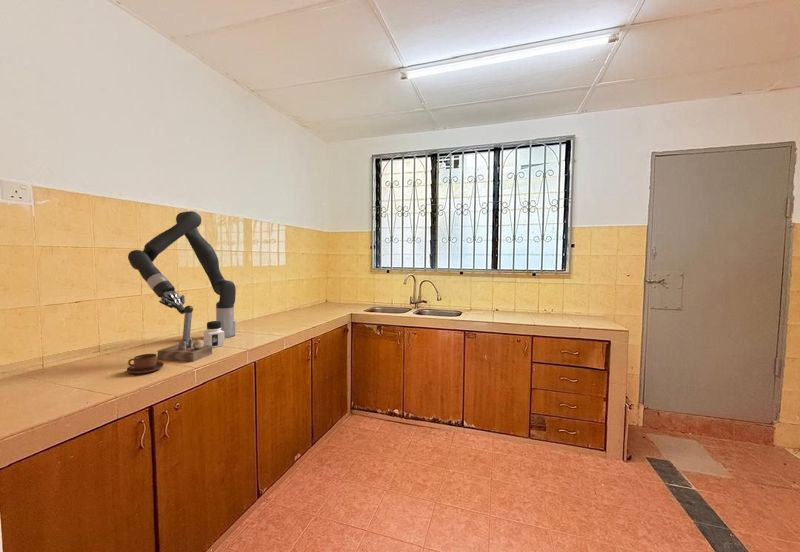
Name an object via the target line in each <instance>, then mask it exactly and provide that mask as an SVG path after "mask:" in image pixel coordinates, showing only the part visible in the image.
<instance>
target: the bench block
mask: <svg viewBox="0 0 800 552" xmlns="http://www.w3.org/2000/svg"><path fill="white" fill-rule="evenodd" d="M189 343H190V346H189V347H187V348H186V341H182V340H178V343H176V344H174V345H170V346H167V347H165V348H161V349H158V350H157V360H166V361H167V360H168V361H177V362H178V361H180V362H192V363H193V362H196V361H199V360H201V359H203V358H206V357H208V356H210V355H211V356H212V354H213V348H212V346H207V345H204V340H202V339H200V338H199V339H195V340H194V341H193V339H192V338H190V341H189Z"/></svg>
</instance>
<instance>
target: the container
mask: <svg viewBox="0 0 800 552" xmlns="http://www.w3.org/2000/svg"><path fill="white" fill-rule="evenodd" d="M220 329H221V322H220V321H216V320H210V321H208V322H206V330H203V343H204V345H207V346H212V349H213V348H216V347H217V348H218V347H224V346H225V338H224V331H222V330H220Z"/></svg>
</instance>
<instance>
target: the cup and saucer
mask: <svg viewBox="0 0 800 552" xmlns="http://www.w3.org/2000/svg"><path fill="white" fill-rule="evenodd" d="M131 361H133V364H132V363H131ZM127 364H128V367H127V368H126V372H128V373H130V374H138V375H139V374H148V373H152V372H155V371H158V370H160V369H162V368H163V367H164V363H163V362H162V361H158V354H156V353H144V354H139V355H135V356H134V357H133V358H130V359H128V362H127Z"/></svg>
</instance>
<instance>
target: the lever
mask: <svg viewBox="0 0 800 552" xmlns="http://www.w3.org/2000/svg"><path fill="white" fill-rule="evenodd" d="M184 311H185V313H184V317H183V319H184V321H183V327H182V329H183V331H182V340H181V341H186V348H187V347H189V346H190V343H189V341H190V339H191V330H192V329H191V327H192V316H193V312H194V307H193V306H192V305H186V306H184Z"/></svg>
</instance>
